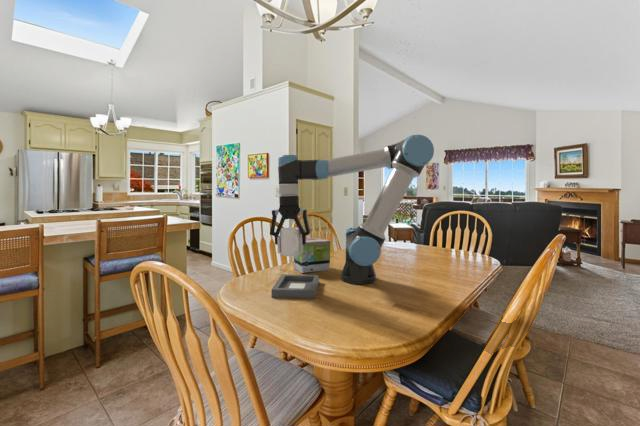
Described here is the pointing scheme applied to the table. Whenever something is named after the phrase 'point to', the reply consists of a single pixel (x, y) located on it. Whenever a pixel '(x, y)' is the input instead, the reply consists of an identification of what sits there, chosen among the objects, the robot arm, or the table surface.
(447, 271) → the table surface
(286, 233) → the mug
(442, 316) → the table surface
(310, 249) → the tea box
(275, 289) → the gray tray
